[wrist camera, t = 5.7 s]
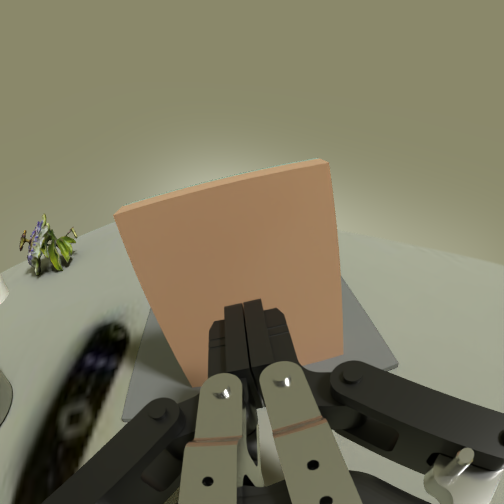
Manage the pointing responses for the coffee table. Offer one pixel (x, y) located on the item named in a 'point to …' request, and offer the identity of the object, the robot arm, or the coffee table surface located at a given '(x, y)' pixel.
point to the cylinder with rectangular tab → (3, 290)
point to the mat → (179, 389)
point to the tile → (241, 258)
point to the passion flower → (40, 245)
